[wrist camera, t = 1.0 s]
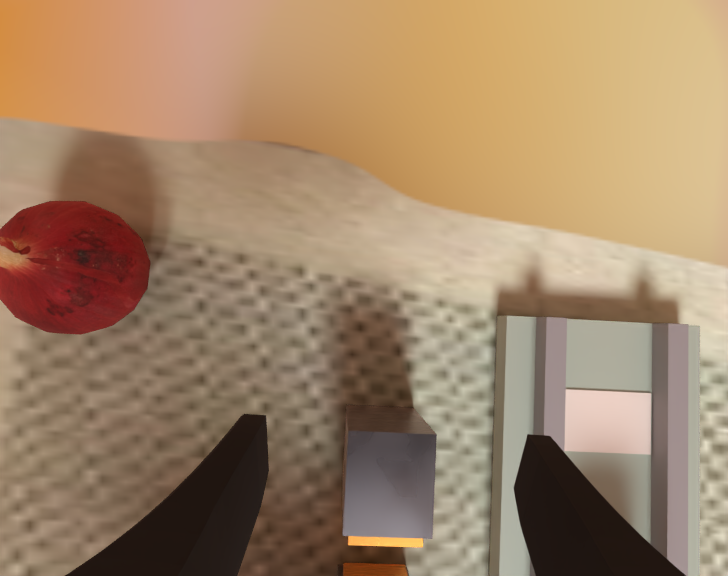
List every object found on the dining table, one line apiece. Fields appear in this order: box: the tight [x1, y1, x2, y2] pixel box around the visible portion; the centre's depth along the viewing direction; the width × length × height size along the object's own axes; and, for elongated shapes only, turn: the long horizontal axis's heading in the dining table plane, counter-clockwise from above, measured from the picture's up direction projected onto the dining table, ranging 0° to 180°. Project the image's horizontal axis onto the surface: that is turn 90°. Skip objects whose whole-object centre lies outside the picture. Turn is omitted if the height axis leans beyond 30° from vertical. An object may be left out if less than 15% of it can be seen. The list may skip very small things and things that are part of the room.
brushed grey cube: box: [342, 405, 436, 547], centre depth 22 cm, size 5×4×6 cm
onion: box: [0, 201, 150, 334], centre depth 21 cm, size 6×6×8 cm
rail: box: [489, 316, 700, 576], centre depth 21 cm, size 18×10×8 cm, turn 177°
